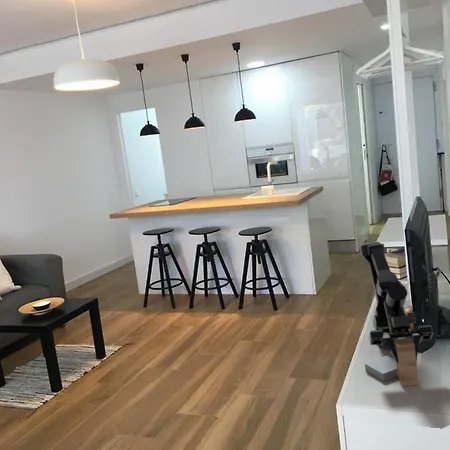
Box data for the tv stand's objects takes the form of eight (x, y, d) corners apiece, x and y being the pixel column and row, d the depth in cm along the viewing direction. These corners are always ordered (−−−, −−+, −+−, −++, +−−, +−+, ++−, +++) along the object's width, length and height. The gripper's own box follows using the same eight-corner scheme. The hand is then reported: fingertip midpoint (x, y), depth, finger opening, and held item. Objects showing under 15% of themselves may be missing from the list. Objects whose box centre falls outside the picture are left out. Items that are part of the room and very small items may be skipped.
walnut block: (397, 377, 158) (393, 339, 156) (414, 376, 157) (410, 337, 155) (401, 385, 153) (397, 346, 151) (418, 384, 153) (414, 344, 150)
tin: (410, 338, 184) (408, 317, 182) (401, 338, 185) (399, 316, 184) (419, 322, 196) (417, 302, 195) (410, 322, 198) (408, 301, 196)
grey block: (387, 362, 169) (386, 355, 169) (406, 372, 161) (405, 364, 160) (365, 370, 166) (364, 363, 165) (383, 381, 158) (383, 373, 157)
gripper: (366, 306, 157) (376, 355, 148) (429, 300, 154) (443, 349, 145) (365, 321, 166) (374, 367, 157) (424, 315, 163) (437, 362, 154)
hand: (406, 361), depth 153 cm, fingers closed on walnut block, 5 cm apart
